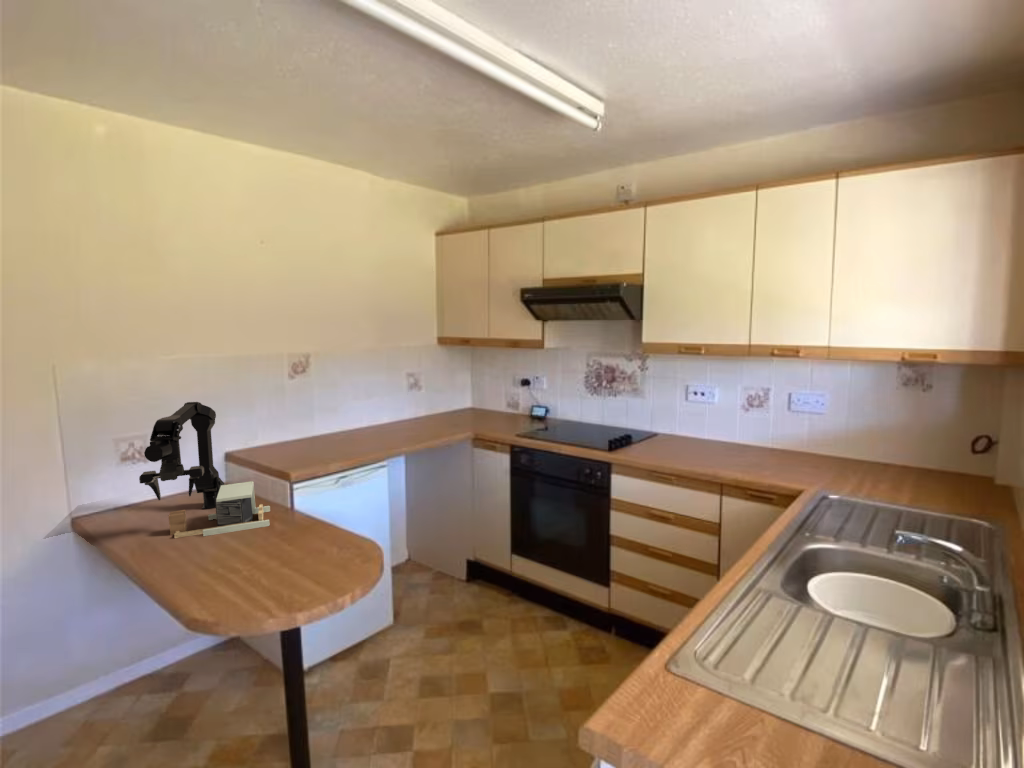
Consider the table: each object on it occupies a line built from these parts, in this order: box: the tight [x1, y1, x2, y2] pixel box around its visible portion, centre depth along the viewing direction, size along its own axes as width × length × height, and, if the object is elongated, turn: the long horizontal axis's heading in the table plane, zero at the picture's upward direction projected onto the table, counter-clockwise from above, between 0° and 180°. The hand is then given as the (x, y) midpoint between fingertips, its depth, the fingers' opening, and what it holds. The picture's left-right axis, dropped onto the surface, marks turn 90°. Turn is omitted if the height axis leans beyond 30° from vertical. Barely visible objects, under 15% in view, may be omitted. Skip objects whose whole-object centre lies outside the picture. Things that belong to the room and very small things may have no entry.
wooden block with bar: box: [168, 503, 265, 539], centre depth 198 cm, size 12×29×7 cm, turn 113°
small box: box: [215, 497, 254, 527], centre depth 200 cm, size 11×6×10 cm, turn 85°
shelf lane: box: [202, 480, 271, 537], centre depth 200 cm, size 17×21×12 cm
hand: (175, 498), depth 192 cm, fingers open, 9 cm apart
